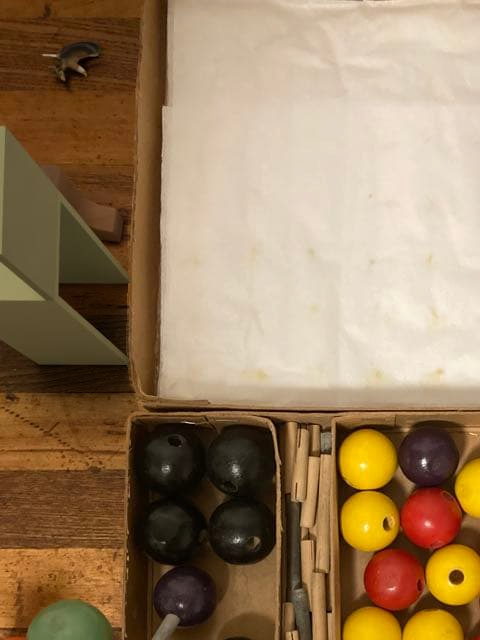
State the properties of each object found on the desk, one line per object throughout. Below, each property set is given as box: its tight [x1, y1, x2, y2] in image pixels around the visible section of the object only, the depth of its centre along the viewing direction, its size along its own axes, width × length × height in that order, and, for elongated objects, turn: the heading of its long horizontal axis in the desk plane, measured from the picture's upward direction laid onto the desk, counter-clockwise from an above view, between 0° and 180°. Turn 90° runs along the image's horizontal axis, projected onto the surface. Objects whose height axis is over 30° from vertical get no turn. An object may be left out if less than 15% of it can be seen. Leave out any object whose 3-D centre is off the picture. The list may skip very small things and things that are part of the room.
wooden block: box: [36, 162, 125, 243], centre depth 142 cm, size 9×4×18 cm, turn 83°
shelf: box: [0, 125, 131, 366], centre depth 126 cm, size 16×16×49 cm
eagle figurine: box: [41, 40, 101, 82], centre depth 150 cm, size 8×7×9 cm
